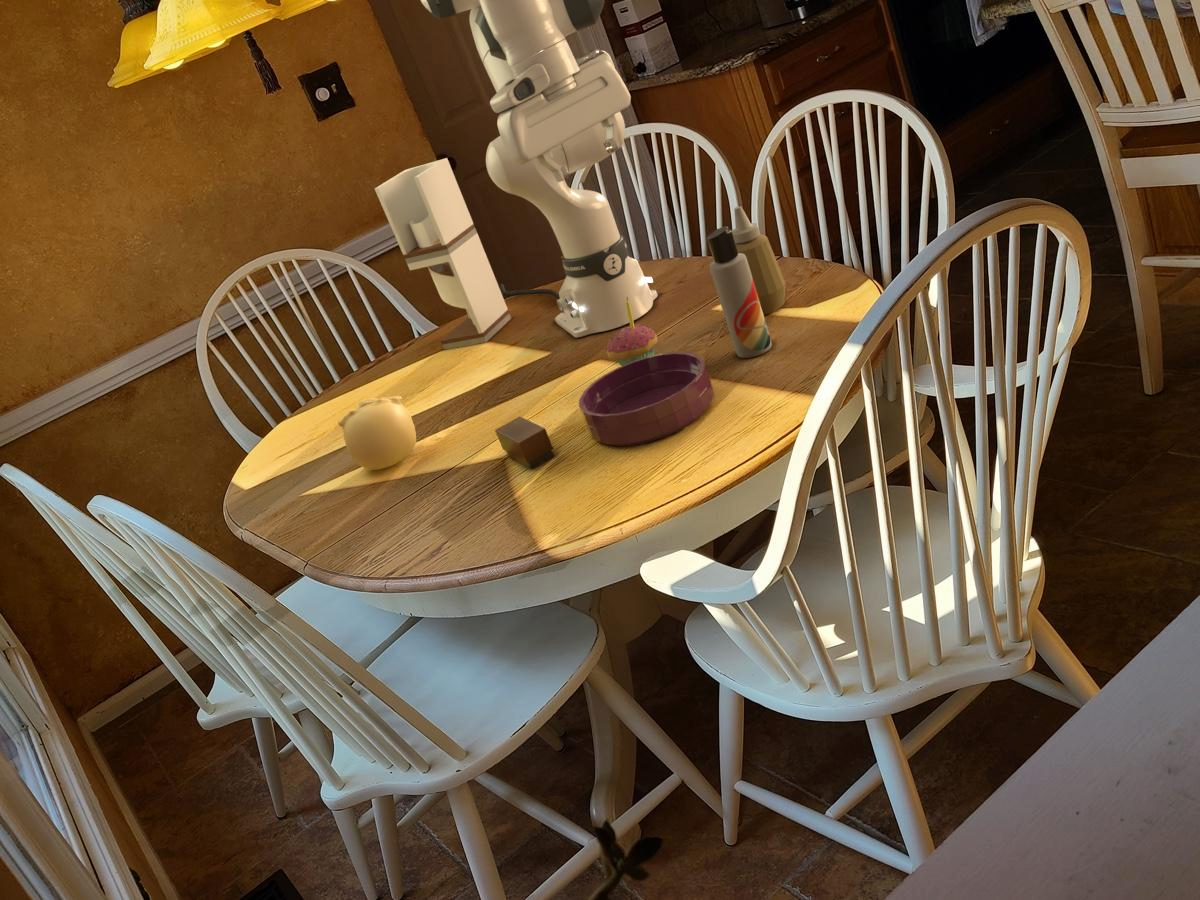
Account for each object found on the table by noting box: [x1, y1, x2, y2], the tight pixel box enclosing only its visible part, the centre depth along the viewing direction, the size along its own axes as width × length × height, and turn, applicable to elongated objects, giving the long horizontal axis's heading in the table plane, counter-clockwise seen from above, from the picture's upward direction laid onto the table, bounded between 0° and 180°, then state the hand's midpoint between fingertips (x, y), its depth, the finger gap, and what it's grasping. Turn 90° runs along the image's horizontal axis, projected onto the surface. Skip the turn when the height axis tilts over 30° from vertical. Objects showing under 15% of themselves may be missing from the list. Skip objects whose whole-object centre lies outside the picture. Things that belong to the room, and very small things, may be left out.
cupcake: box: [605, 296, 659, 367], centre depth 180 cm, size 9×8×12 cm
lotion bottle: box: [706, 225, 772, 359], centre depth 169 cm, size 6×6×20 cm
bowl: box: [578, 351, 715, 447], centre depth 163 cm, size 19×19×6 cm
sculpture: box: [337, 395, 417, 471], centre depth 182 cm, size 11×12×11 cm
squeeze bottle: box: [731, 205, 786, 315], centre depth 183 cm, size 8×8×18 cm
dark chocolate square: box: [494, 416, 555, 470], centre depth 165 cm, size 9×4×5 cm, turn 29°
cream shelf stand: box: [374, 157, 512, 351], centre depth 224 cm, size 11×11×35 cm
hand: (589, 165), depth 160 cm, fingers open, 8 cm apart
